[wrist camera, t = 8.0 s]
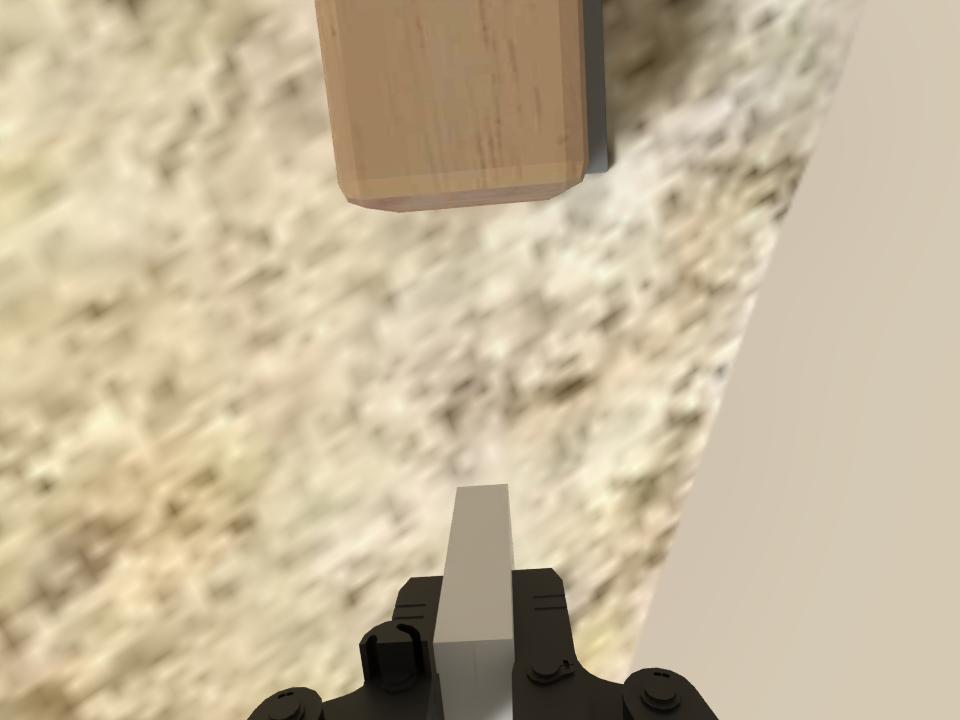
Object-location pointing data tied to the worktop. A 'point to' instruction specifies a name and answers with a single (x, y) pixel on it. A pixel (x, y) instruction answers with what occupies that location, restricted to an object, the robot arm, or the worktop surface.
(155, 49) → the worktop surface
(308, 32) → the worktop surface
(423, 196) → the wooden block
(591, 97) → the mat
